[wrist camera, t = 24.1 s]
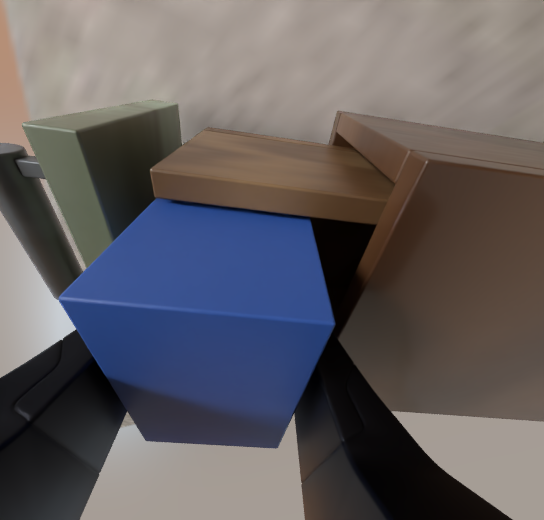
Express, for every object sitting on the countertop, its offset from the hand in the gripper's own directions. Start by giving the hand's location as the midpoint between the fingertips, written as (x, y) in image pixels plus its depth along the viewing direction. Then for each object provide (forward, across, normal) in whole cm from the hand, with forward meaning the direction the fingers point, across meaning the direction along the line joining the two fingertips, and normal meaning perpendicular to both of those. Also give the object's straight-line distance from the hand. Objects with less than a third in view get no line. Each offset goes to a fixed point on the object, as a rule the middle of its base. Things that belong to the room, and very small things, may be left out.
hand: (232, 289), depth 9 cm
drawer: (+6, 0, 0) cm, 6 cm away
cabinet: (+7, -11, 0) cm, 13 cm away
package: (+1, 0, 0) cm, 1 cm away
